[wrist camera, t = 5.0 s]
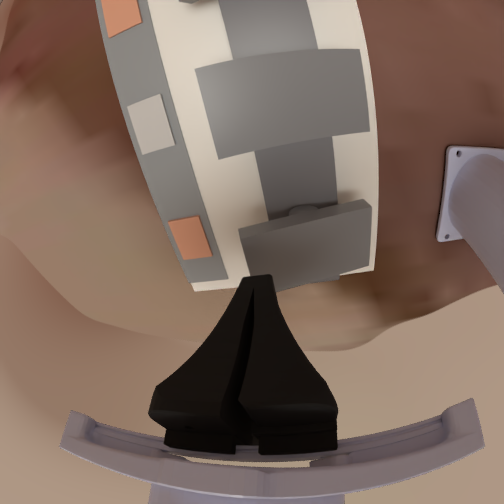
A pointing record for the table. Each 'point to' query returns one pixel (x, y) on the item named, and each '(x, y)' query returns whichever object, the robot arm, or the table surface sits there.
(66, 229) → the table surface
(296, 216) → the switch
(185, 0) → the switch
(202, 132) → the switch panel
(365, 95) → the switch
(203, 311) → the table surface
